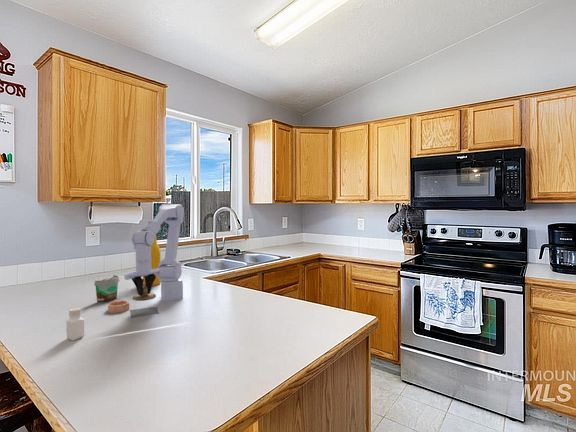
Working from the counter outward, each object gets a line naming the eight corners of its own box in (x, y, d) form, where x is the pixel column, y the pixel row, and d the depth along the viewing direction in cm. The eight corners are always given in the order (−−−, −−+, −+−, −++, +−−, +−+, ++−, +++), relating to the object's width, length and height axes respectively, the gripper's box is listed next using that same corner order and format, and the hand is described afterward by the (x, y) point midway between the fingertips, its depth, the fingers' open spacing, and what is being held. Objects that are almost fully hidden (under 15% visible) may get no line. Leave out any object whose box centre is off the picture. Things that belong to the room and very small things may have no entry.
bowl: (128, 307, 139) (128, 299, 139) (129, 312, 132) (129, 304, 132) (108, 309, 135) (108, 302, 135) (108, 315, 129) (108, 307, 129)
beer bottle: (157, 281, 186) (156, 230, 185) (163, 284, 180) (162, 231, 179) (140, 283, 180) (139, 231, 179) (146, 287, 173) (145, 232, 172)
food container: (106, 304, 143) (106, 281, 143) (94, 303, 145) (94, 280, 144) (125, 296, 156) (125, 275, 155) (114, 295, 157) (114, 275, 156)
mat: (156, 307, 138) (156, 306, 138) (159, 314, 129) (159, 313, 129) (130, 311, 133) (130, 310, 133) (131, 319, 124) (131, 317, 124)
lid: (154, 294, 137) (154, 283, 137) (157, 299, 129) (157, 288, 129) (131, 296, 133) (131, 285, 133) (133, 301, 125) (133, 290, 125)
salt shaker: (72, 341, 104) (71, 312, 104) (65, 338, 106) (65, 309, 106) (85, 337, 107) (84, 308, 107) (79, 334, 109) (78, 306, 109)
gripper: (155, 257, 139) (155, 288, 139) (120, 262, 127) (121, 296, 128) (164, 259, 134) (164, 291, 135) (129, 264, 123) (129, 299, 123)
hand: (144, 294), depth 131 cm, fingers closed on lid, 3 cm apart
